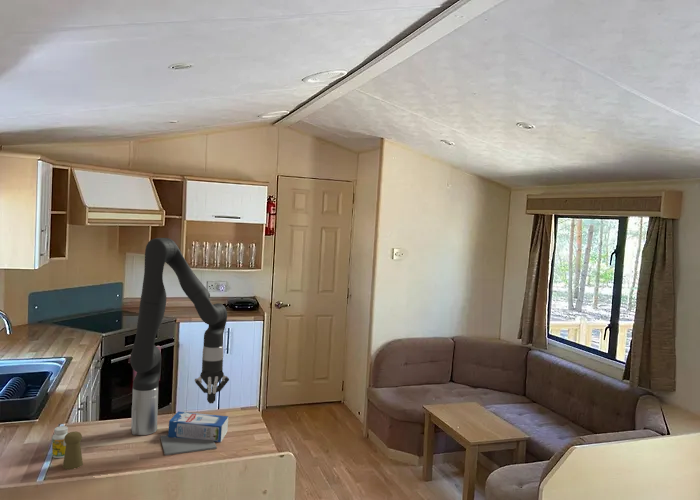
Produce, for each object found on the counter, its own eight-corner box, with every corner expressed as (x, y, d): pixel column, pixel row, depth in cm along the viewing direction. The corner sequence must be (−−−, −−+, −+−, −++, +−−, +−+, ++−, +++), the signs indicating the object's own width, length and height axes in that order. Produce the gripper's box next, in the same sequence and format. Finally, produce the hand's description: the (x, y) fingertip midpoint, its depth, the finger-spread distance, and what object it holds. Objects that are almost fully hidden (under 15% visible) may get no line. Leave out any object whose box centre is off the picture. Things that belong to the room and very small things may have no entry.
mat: (164, 455, 194) (164, 453, 194) (160, 437, 208) (160, 435, 208) (216, 448, 201) (216, 446, 201) (208, 431, 216) (208, 429, 216)
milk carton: (227, 431, 216) (177, 426, 217) (228, 416, 216) (178, 411, 217) (220, 442, 207) (167, 437, 207) (221, 426, 206) (169, 421, 207)
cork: (86, 461, 186) (86, 429, 186) (77, 469, 180) (78, 437, 180) (67, 460, 186) (68, 429, 185) (59, 469, 180) (59, 436, 179)
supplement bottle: (73, 453, 191) (73, 426, 191) (60, 460, 186) (60, 432, 186) (61, 450, 193) (62, 423, 193) (48, 456, 188) (48, 429, 188)
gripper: (228, 353, 212) (226, 397, 213) (193, 355, 206) (191, 401, 208) (232, 359, 205) (230, 404, 206) (196, 361, 199) (194, 408, 201)
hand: (211, 402), depth 207 cm, fingers closed
